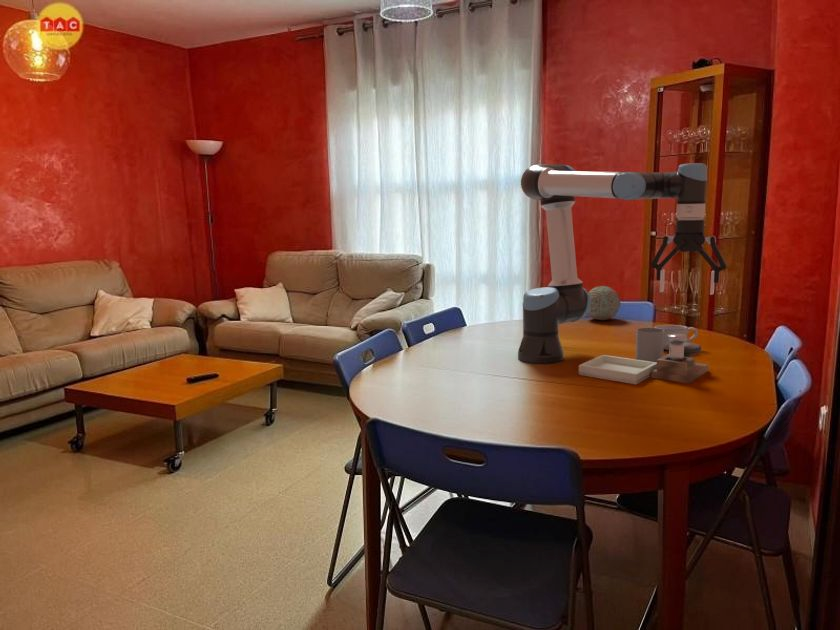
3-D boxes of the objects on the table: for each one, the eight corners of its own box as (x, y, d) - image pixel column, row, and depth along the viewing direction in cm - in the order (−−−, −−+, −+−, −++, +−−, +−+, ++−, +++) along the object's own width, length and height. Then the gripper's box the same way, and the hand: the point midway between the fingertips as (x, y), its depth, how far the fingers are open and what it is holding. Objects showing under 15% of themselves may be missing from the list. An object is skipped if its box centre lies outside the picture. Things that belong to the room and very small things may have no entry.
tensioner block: (651, 377, 188) (651, 351, 186) (672, 365, 200) (673, 340, 199) (689, 383, 180) (690, 356, 179) (709, 370, 193) (710, 344, 191)
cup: (664, 363, 203) (665, 332, 201) (637, 363, 204) (638, 332, 203) (660, 357, 211) (661, 327, 209) (634, 356, 212) (635, 327, 211)
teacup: (653, 351, 219) (654, 328, 218) (654, 344, 229) (655, 322, 228) (697, 353, 214) (698, 330, 212) (696, 346, 224) (697, 324, 222)
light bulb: (663, 370, 187) (664, 336, 185) (670, 367, 191) (671, 333, 189) (681, 373, 183) (683, 338, 181) (687, 369, 187) (689, 335, 185)
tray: (578, 374, 193) (578, 365, 192) (602, 363, 205) (602, 354, 204) (636, 384, 181) (636, 374, 180) (658, 372, 193) (658, 362, 192)
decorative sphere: (585, 323, 271) (586, 288, 269) (582, 316, 286) (583, 283, 283) (622, 323, 269) (623, 288, 266) (617, 316, 283) (618, 283, 281)
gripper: (642, 219, 183) (639, 292, 187) (737, 219, 171) (732, 297, 175) (647, 218, 190) (644, 288, 194) (740, 218, 177) (735, 293, 181)
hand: (686, 292), depth 184 cm, fingers open, 13 cm apart
